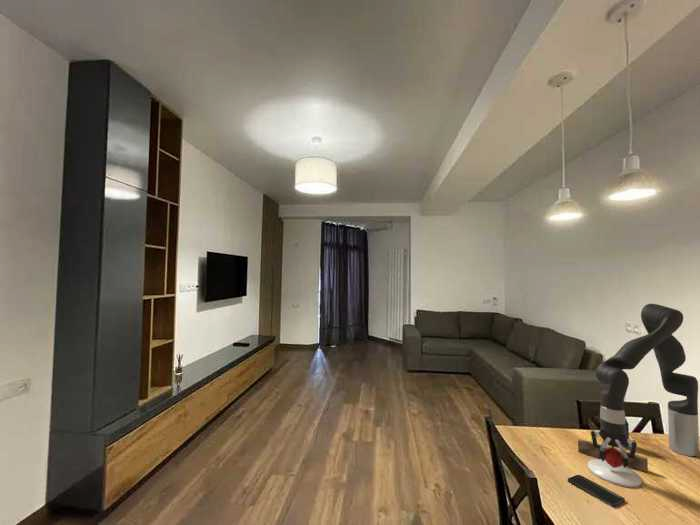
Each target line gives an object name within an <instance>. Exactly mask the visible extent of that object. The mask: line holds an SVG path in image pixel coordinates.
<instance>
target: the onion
mask: <svg viewBox="0 0 700 525" xmlns="http://www.w3.org/2000/svg"><path fill="white" fill-rule="evenodd" d="M610 447H611V448H609V449H607V450H606V451H605V452H604V458H605V460H606V462H607V463H608V464H609V465H610V466H612V467H613V468H616V467H620V466H621V465H622V464H623V457H622V455H621V454H620V452H619V451H617V450H616V449H617V448H616V447H614V446H610Z"/></svg>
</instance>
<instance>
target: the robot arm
mask: <svg viewBox="0 0 700 525" xmlns="http://www.w3.org/2000/svg"><path fill="white" fill-rule="evenodd" d="M640 319H641V322H642V324H643V326H644V328H645V331H646V332H647V334H644V335H642V336H639V337H636V338H634V339H631V340H629V341H627V342H626V343H624V344H623V345H622V346H621V347H620V348H619V349H618V351H617V352H616V353H615V354H614V355H612V356H610V357H609V358H607V359H606V360H604V361H603V362H601V363H600V364H599V365H598V366H597V367H596V369H595V373H594V374H595V377H596V379H597V380H598V381H600V382H601V383H604V384H606V385H609V389H602V391H600V410H599V418H600V424H599V425H600V429H599V431H597V430H596V431H595V430H594V429H591V430H590V436H591V442H593V446H594V447H595V448H597V449H599V457H600V458H599V459H602V461H604V449H605V447H606V446H607V447H611V446H614V447H615V449H617V448H618V450H621V452H622V454H623V467H624V468H626V467H628V458H634V457H635V454H636V451H637V446H638V444H637V441H636V440H634V439H633V440H632V439H630V438H629V439H627V437H626V427H625V421H626V419H627V418H626V413H625V398H626V395H627V394H626V393H627V392H628V388H629V384H630V379H629V376H628V374H627V372H626V371H625V370H633V369H635V368H636V367H637V366H638V365H639V364H640V362H641V361H642V360H643V359H644V357H646V356H647V355H648V354H649V353H650V351H653V352H654V356H655V358H656V361H657V365H658V366H659V372H660V378H661V383H662V386H663V389H664V390H665V391H666V392H667V393H670V394H673V395H678V396H682V397H686V398H685V399H683V400H682V399H681V400H669V401H668V402H667V412H668V413H667V415H668V416H667V417H668V418H667V419H668V420H667V422H668V423H667V424H668V425H667V426H668V448H669V449H671V450H672V451H674V452H676V453H679V454H681V455H683V456H689V457H693V456H697V457H699V456H700V435H699V434H700V431H699V408H698V407H699V406H698V405H699V401H698V400H699V398H698V397H699V381H698V379H697V378H696V377H695V376H693V375H689V374H684V373H677V372H674V371H676V370H677V369H679V368H681V366H683V365H685V364H684V363H685V362H686V360H687V358H686V353H685V349H684V346H683V345H682V343H681V342H680V341H679V340H678V339H677V337H675V336H674V335H673V334H674V333H675V332H676V331H677V330H678V329H680V327H681V326H682V325H683V322H684V315H683V313H682V311H680V310H678V309H675V308H671V307H669V306H668V307H667V306H664V305H662V304H658V303H648V304H645V305H644V306H643V307H642V308H641V312H640ZM625 418H626V419H625ZM598 436H600V438H601V439H602V441H601V443H598V440H597V438H598ZM627 442H628V443H629V446H628V447H630V452H629V453H627V452H628V451H627V450H626V448H625V447H624V444H625V443H627ZM599 444H600V445H599ZM628 468H629V467H628Z"/></svg>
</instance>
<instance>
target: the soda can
mask: <svg viewBox="0 0 700 525" xmlns="http://www.w3.org/2000/svg"><path fill="white" fill-rule="evenodd" d="M625 419H626V421H625V427H626V437H627V439H629V440H630V431H629V422H628V421H627V420H628V419H627V418H626V417H625ZM624 447H625V449H627V448H628V447H630V446H629V443H628V442H627V443H625V444H624Z"/></svg>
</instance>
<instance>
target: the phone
mask: <svg viewBox="0 0 700 525" xmlns="http://www.w3.org/2000/svg"><path fill="white" fill-rule="evenodd" d="M568 482H569V483H568ZM567 483H568V484H570V483H571V484H570V485H572V486H573V485H574V486H573V487H575V486H576V487H575V488H576V489H579V490H580V489H581V490H580V491H582V490H583V491H582V492H584V493H586V494H587V495H589V494H590V495H589V496H591V497H592V498H594V499H596V498H597V499H596V500H598V499H599V501H600V502H602V503H603V502H604V504H605V505H607V506H609V507H610V508H618V507H619V506H621V505H623V504H625V503H626V499H625V497H623V496H622V495H619V494H618V493H615V492H613V491H612V490H610V489H608V488H606V487H604V486H603V485H600V484H598V483H597V482H594V481H592V480H591V479H590V478H589V479H588V478H587V477H585V476H583V475H581V474H575V475H573V476H571V477H568V478H567Z"/></svg>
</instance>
